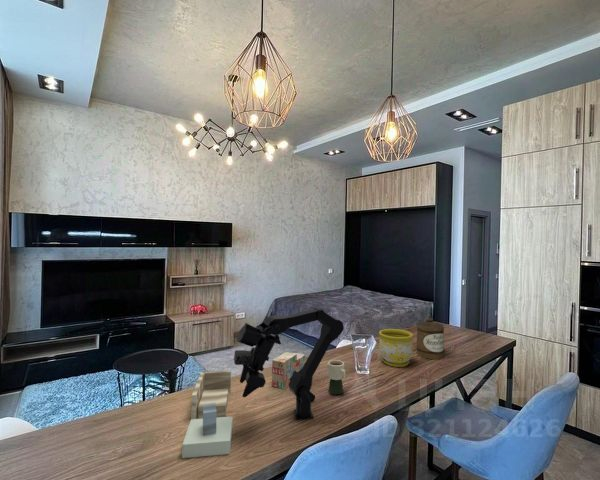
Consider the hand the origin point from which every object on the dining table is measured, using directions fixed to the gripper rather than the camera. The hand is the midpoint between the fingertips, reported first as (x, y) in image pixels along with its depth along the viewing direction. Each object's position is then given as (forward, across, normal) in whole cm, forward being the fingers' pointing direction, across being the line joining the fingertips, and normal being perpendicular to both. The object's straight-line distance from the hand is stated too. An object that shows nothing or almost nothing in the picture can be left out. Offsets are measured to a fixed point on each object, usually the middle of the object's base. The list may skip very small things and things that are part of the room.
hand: (242, 389), depth 113 cm
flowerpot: (-23, -36, +86) cm, 96 cm away
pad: (+15, +9, -5) cm, 18 cm away
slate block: (+12, +8, -7) cm, 16 cm away
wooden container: (-34, -41, +111) cm, 123 cm away
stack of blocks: (+4, -31, +31) cm, 44 cm away
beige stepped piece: (+17, -16, -2) cm, 24 cm away
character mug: (-6, -12, +44) cm, 46 cm away
